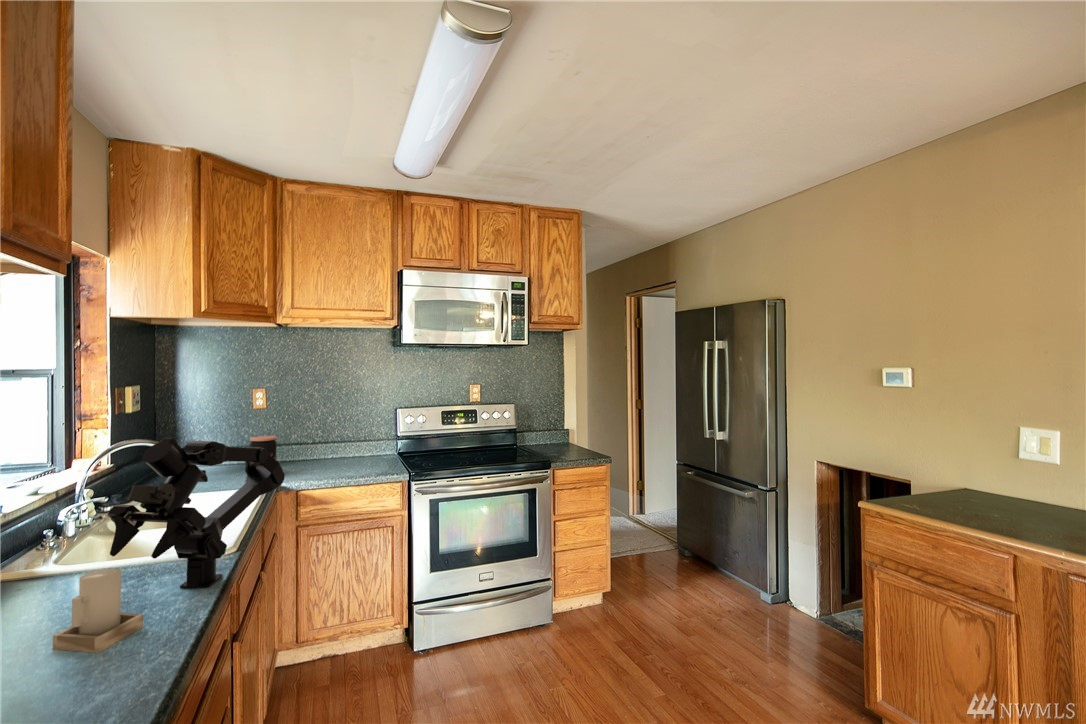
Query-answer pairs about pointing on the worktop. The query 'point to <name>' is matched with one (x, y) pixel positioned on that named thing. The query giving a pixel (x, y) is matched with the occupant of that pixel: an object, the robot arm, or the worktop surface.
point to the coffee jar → (265, 445)
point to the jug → (98, 602)
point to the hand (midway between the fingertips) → (132, 556)
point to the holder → (96, 644)
